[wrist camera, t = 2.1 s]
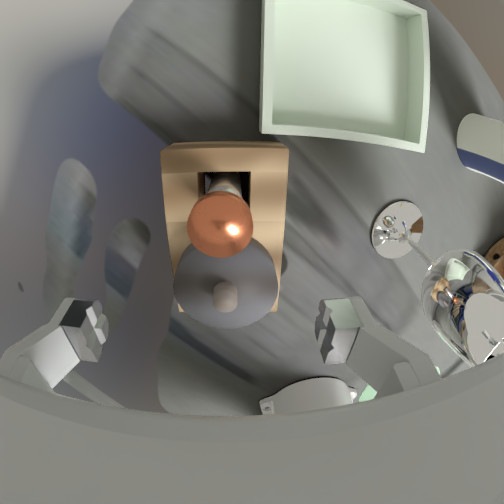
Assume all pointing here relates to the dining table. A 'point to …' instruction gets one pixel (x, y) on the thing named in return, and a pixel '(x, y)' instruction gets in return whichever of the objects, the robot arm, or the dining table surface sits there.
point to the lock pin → (221, 218)
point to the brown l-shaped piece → (497, 256)
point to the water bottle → (482, 145)
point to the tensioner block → (252, 256)
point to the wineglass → (449, 286)
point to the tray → (345, 71)
